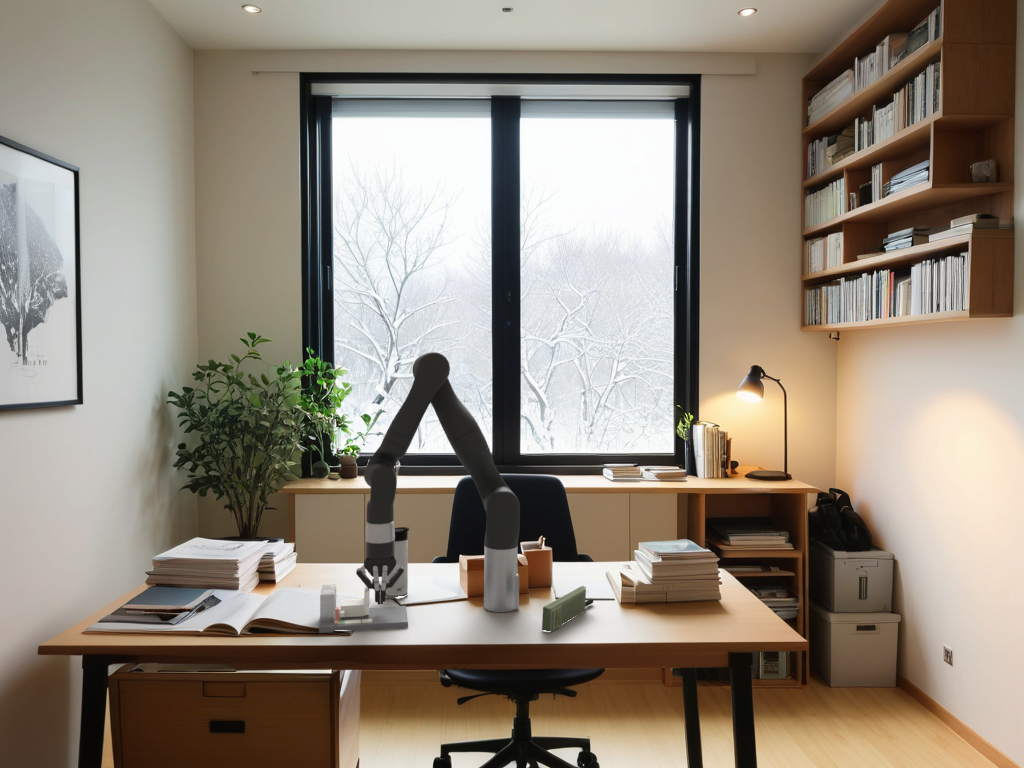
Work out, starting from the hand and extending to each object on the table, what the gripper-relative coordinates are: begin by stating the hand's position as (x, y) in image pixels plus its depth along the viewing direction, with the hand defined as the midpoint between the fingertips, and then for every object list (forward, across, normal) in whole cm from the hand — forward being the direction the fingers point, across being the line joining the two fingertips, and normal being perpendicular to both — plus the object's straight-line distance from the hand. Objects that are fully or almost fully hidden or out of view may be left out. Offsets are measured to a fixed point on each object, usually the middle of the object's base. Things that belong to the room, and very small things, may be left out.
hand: (380, 603), depth 185 cm
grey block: (+3, +13, 0) cm, 14 cm away
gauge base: (+4, +4, +1) cm, 6 cm away
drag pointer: (+2, +11, +5) cm, 12 cm away
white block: (+2, +6, +1) cm, 7 cm away
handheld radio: (+5, -50, +8) cm, 51 cm away
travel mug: (+4, -5, -18) cm, 19 cm away
